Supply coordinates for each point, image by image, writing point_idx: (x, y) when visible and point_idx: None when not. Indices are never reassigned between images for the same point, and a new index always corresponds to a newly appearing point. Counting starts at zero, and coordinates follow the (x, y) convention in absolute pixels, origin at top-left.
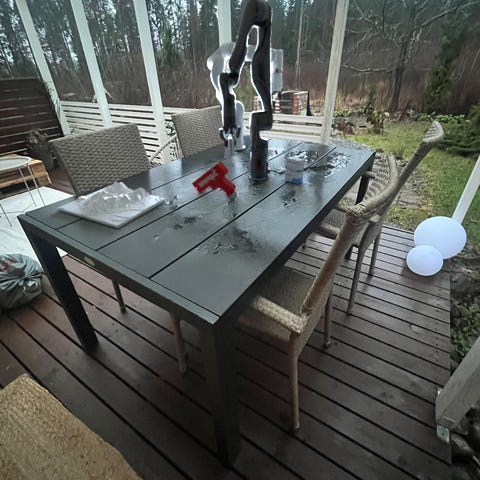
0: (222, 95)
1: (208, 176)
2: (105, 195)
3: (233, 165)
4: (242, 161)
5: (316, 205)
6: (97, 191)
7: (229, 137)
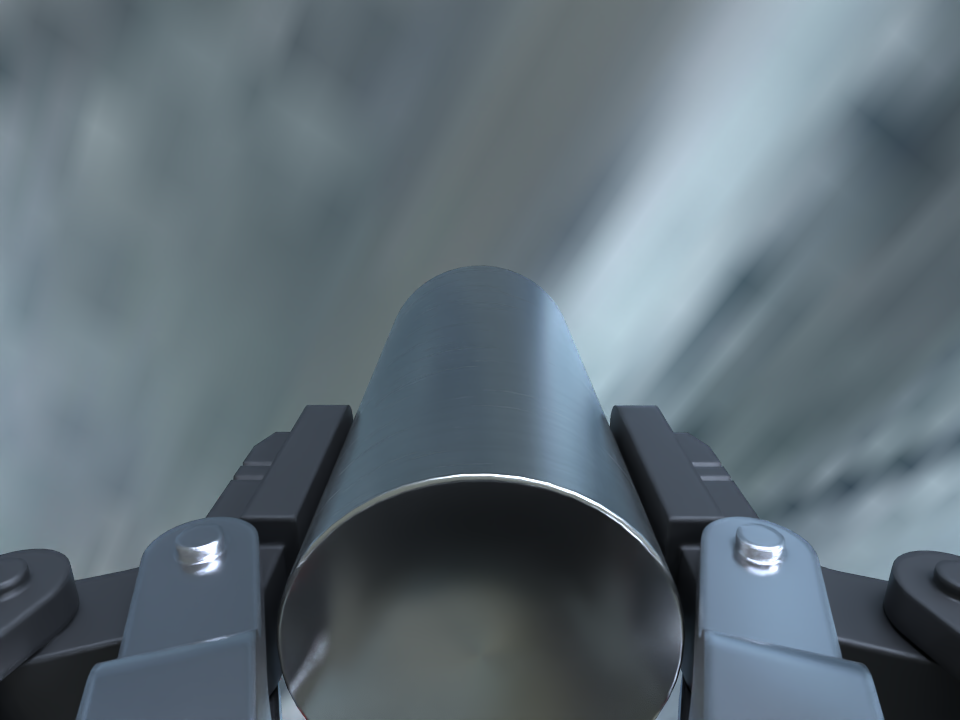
0: None
1: None
2: None
3: (573, 222)
4: (867, 99)
5: None
6: None
7: (546, 523)
